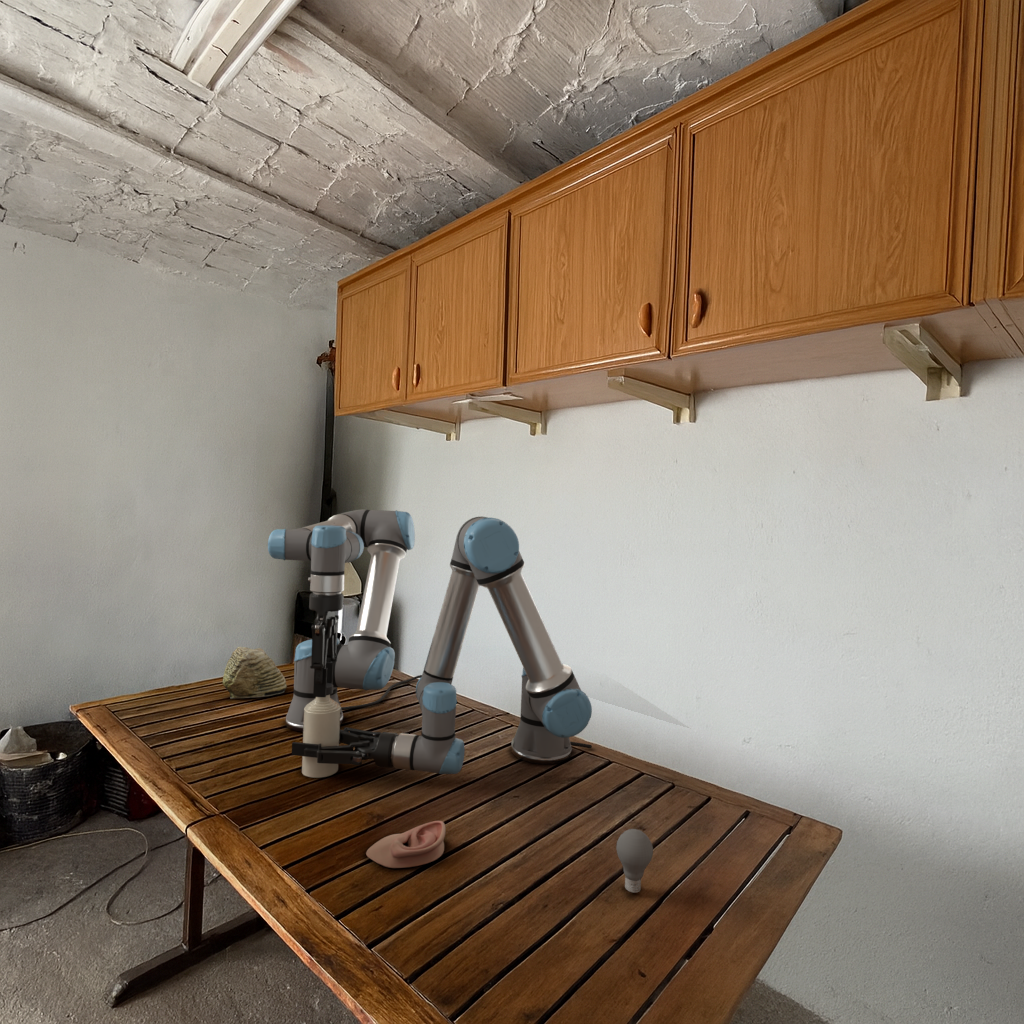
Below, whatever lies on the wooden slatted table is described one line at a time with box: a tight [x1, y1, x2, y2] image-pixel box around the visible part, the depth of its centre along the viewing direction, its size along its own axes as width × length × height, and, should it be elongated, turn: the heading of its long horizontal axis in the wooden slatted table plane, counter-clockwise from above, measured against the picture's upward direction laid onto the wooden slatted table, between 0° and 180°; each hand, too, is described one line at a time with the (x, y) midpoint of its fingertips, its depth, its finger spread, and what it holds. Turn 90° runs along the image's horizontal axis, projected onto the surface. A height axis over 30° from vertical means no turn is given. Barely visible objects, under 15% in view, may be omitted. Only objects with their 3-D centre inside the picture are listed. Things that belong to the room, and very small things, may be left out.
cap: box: [313, 683, 333, 695], centre depth 146 cm, size 4×4×2 cm
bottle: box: [301, 695, 342, 779], centre depth 146 cm, size 8×8×19 cm
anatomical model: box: [365, 820, 447, 869], centre depth 114 cm, size 13×4×12 cm
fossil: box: [222, 646, 288, 699], centre depth 198 cm, size 9×18×15 cm, turn 132°
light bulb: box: [615, 828, 654, 894], centre depth 106 cm, size 6×6×10 cm
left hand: (323, 693), depth 146 cm, fingers closed on cap, 4 cm apart
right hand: (301, 741), depth 147 cm, fingers closed on bottle, 8 cm apart
